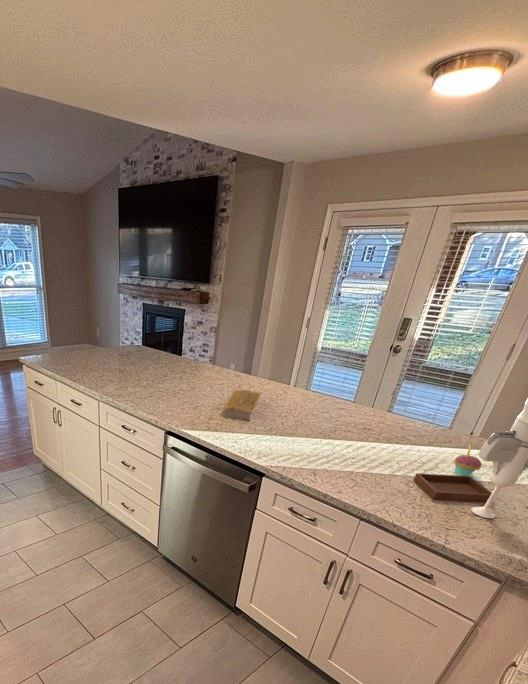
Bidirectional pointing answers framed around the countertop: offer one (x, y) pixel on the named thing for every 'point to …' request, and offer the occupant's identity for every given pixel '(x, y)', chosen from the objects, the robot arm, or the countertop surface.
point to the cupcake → (466, 464)
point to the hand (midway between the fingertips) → (505, 474)
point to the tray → (452, 487)
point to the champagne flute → (504, 480)
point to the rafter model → (241, 404)
